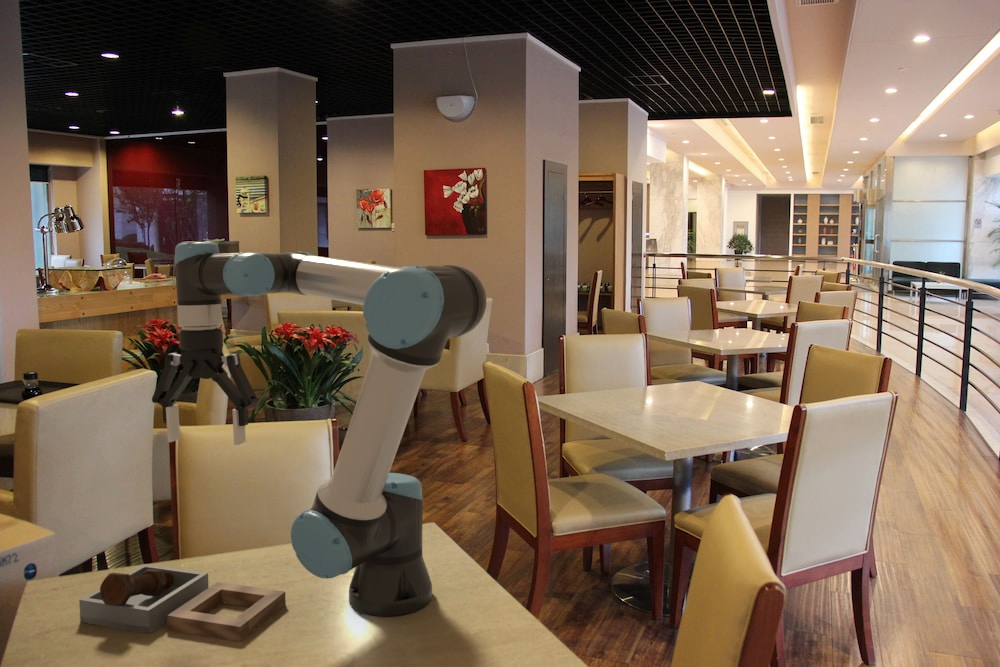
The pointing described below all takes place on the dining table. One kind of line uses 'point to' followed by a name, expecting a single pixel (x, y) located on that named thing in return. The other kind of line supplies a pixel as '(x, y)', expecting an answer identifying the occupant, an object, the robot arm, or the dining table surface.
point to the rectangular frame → (198, 622)
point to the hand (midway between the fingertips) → (206, 442)
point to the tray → (144, 602)
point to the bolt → (134, 586)
